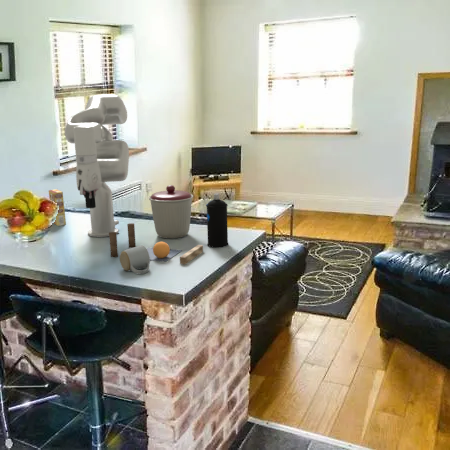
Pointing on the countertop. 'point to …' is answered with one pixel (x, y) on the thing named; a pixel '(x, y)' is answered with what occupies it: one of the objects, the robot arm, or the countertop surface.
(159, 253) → the ball
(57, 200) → the candy box
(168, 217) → the canister
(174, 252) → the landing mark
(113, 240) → the post
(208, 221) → the aerosol can
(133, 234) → the post
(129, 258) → the ceramic mug
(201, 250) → the wall
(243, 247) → the countertop surface
